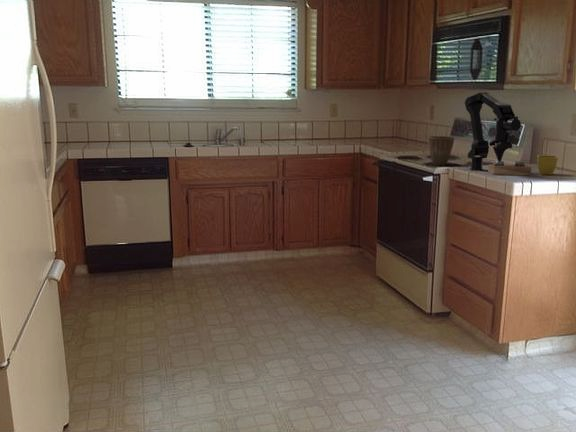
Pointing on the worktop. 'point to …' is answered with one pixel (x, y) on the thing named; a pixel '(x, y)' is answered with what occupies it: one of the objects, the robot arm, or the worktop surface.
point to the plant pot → (440, 149)
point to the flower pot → (547, 164)
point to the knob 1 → (499, 163)
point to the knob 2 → (520, 163)
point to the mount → (509, 170)
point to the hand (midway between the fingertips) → (499, 161)
